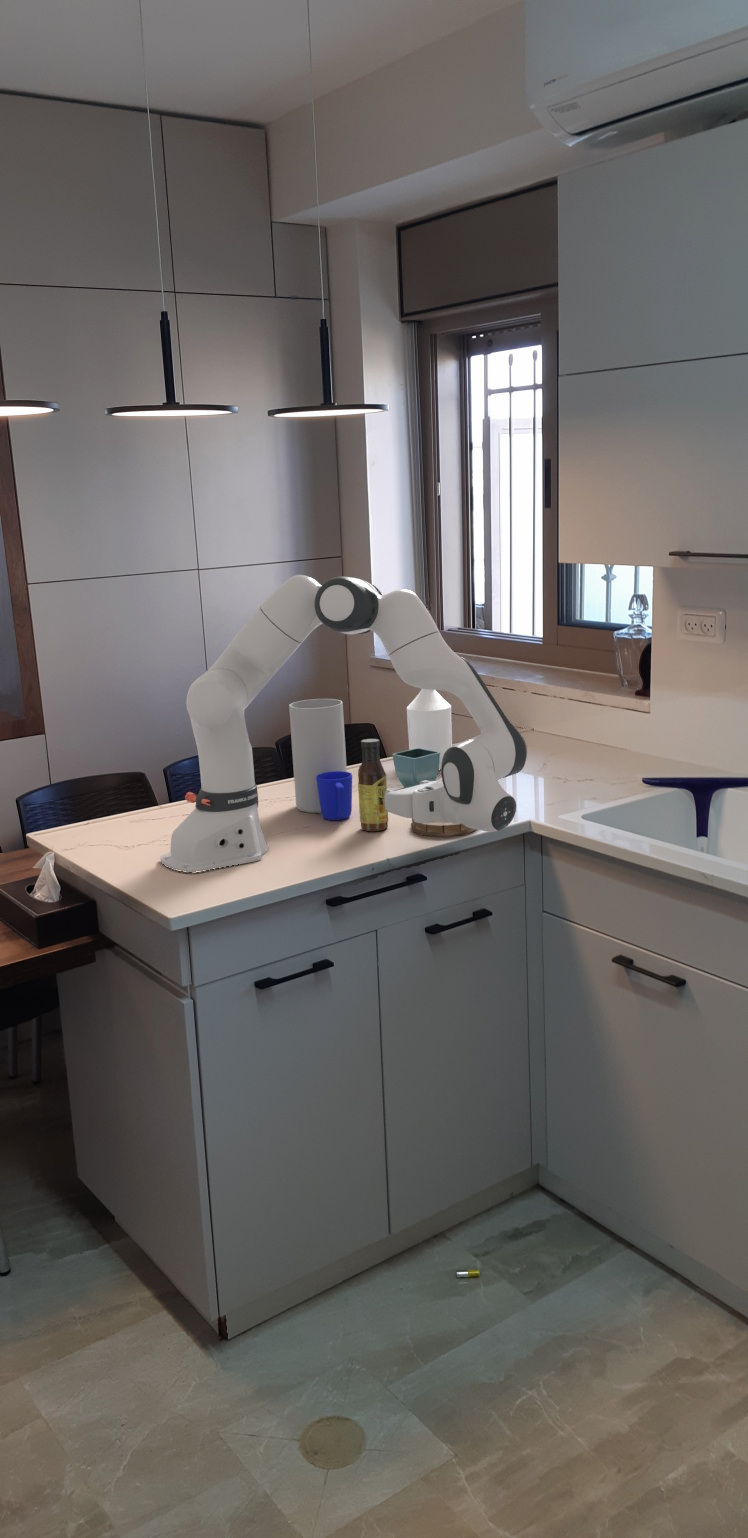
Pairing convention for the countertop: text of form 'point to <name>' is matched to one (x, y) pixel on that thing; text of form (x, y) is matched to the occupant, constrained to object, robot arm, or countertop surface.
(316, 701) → the cylinder vase
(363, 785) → the sauce bottle
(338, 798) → the mug
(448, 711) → the bottle
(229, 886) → the countertop surface
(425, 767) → the flower pot
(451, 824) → the tray
